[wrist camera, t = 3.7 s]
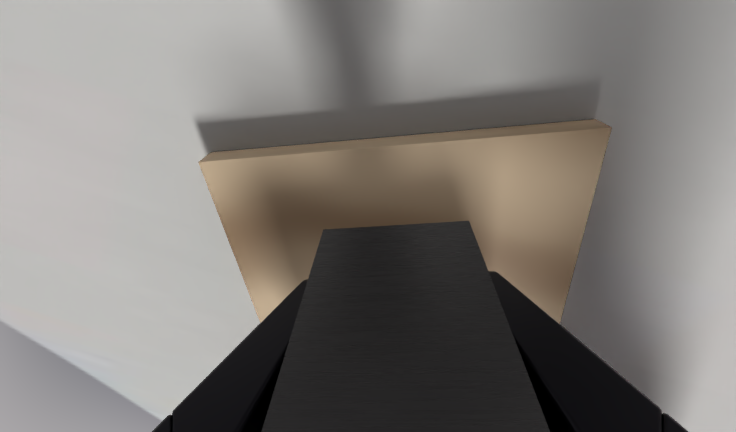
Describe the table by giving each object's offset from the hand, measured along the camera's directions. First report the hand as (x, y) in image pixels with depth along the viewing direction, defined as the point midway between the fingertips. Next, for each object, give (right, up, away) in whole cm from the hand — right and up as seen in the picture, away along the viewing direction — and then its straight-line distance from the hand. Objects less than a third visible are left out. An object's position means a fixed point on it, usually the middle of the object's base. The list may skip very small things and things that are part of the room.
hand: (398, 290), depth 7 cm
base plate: (+1, -5, +11) cm, 12 cm away
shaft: (+1, -6, +4) cm, 7 cm away
